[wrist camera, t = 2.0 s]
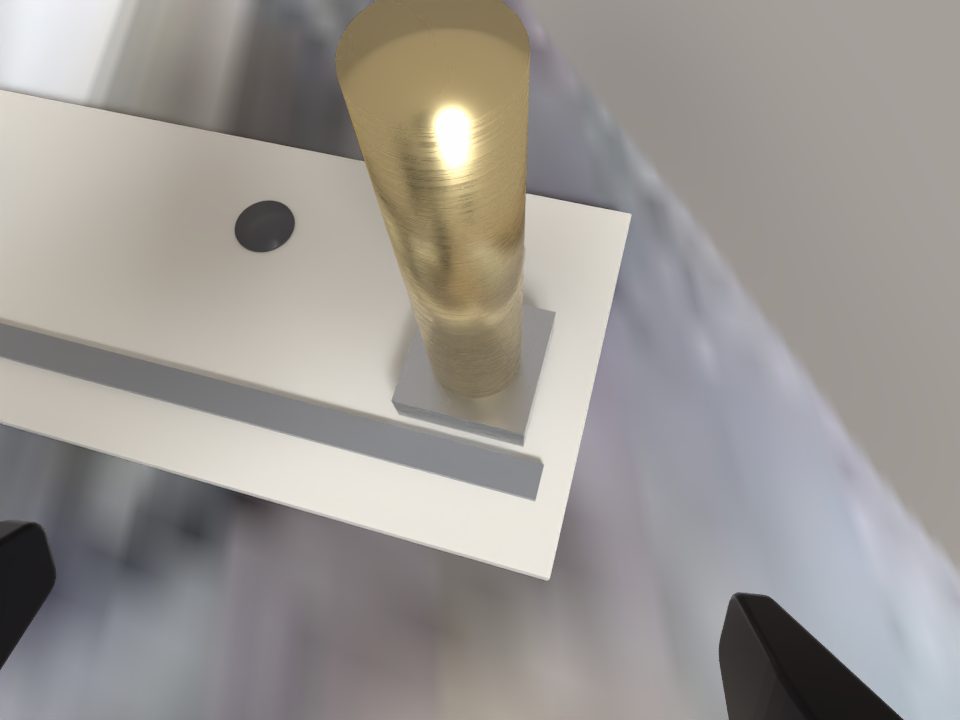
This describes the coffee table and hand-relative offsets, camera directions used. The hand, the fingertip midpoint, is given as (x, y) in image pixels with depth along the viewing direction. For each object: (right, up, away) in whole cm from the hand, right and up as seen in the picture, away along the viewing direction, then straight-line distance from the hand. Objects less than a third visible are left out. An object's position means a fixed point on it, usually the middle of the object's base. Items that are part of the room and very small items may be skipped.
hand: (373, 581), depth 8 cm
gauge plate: (-10, +5, +17) cm, 21 cm away
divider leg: (+2, +3, +14) cm, 15 cm away
